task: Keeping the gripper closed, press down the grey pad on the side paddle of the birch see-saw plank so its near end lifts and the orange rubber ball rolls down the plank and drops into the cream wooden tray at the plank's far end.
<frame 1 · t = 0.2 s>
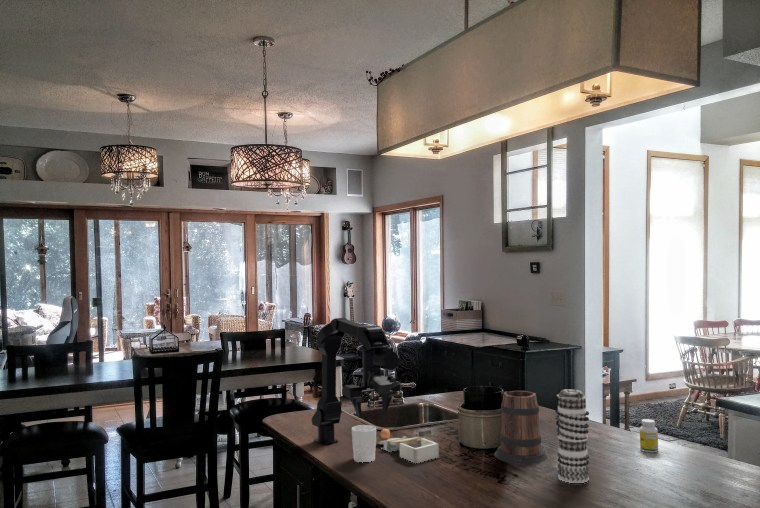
hand: (372, 415, 185), 14 cm above the worktop, tool pointing down, fingers open, 9 cm apart
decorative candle: (573, 479, 167), on the worktop
fulcrum: (395, 448, 198), on the worktop
ball: (385, 434, 203), point 3 cm above the worktop, tilted 13°, touching lever
lever: (405, 436, 201), point 3 cm above the worktop, hinge at -12.0°, touching ball
tray: (419, 457, 188), on the worktop
white cup: (364, 460, 187), on the worktop
supplement bottle: (649, 451, 192), on the worktop
tankard: (522, 453, 192), on the worktop
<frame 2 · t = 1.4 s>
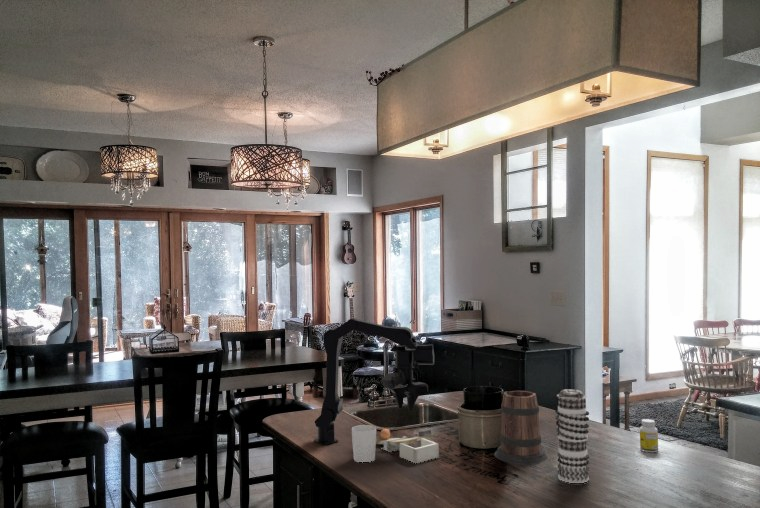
hand: (405, 409, 202), 12 cm above the worktop, tool pointing down, fingers open, 5 cm apart
nothing on the worktop moved.
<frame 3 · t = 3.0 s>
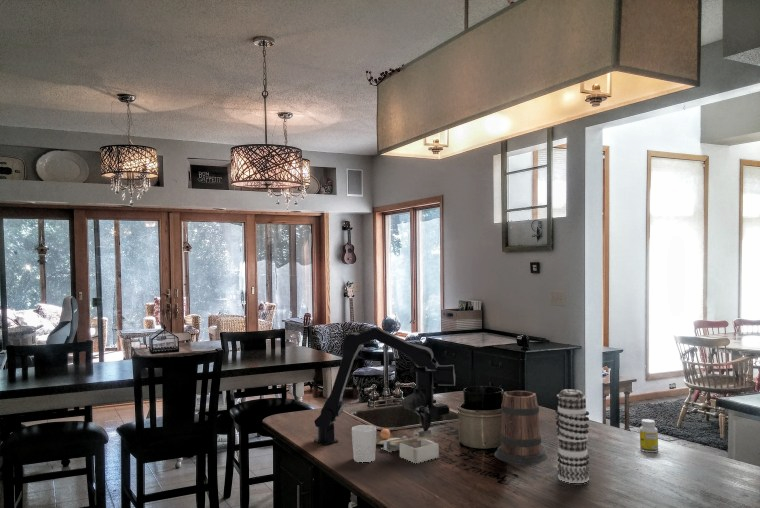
hand: (425, 431, 199), 5 cm above the worktop, tool pointing down, fingers closed, pressing on lever
ball: (385, 434, 203), point 3 cm above the worktop, tilted 11°
lever: (405, 436, 201), point 3 cm above the worktop, hinge at -11.6°, touching gripper
everything else where it was.
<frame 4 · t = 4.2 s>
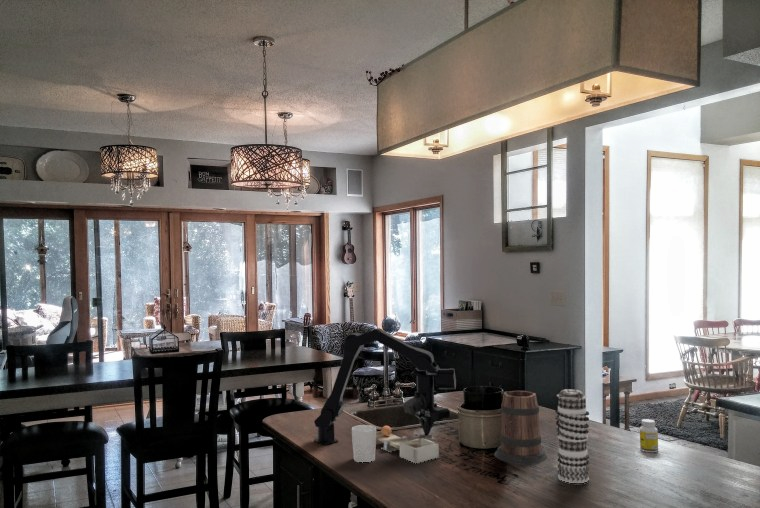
hand: (426, 435, 199), 4 cm above the worktop, tool pointing down, fingers closed, pressing on lever
ball: (386, 430, 203), point 5 cm above the worktop, tilted 15°, touching lever
lever: (406, 436, 201), point 3 cm above the worktop, hinge at 0.8°, touching ball, gripper
everything else where it was.
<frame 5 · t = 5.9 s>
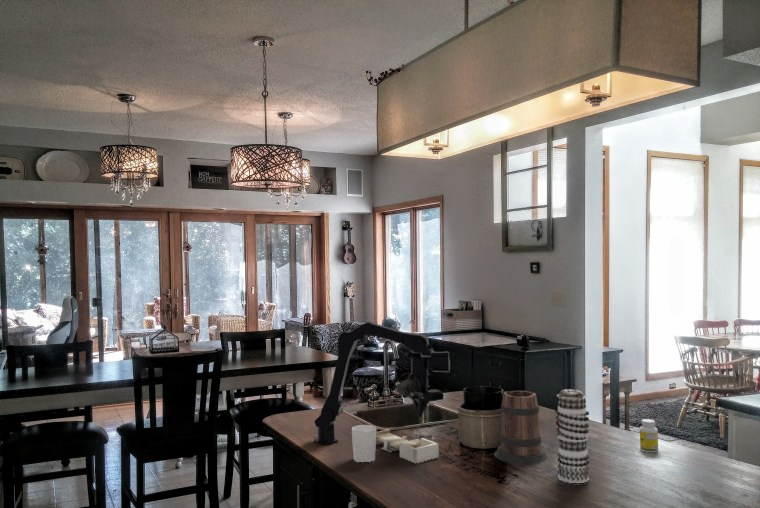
hand: (419, 416, 200), 10 cm above the worktop, tool pointing down, fingers closed
ball: (421, 451, 187), point 2 cm above the worktop, tilted 65°, touching tray
lever: (406, 436, 201), point 3 cm above the worktop, hinge at 1.1°
everything else where it was.
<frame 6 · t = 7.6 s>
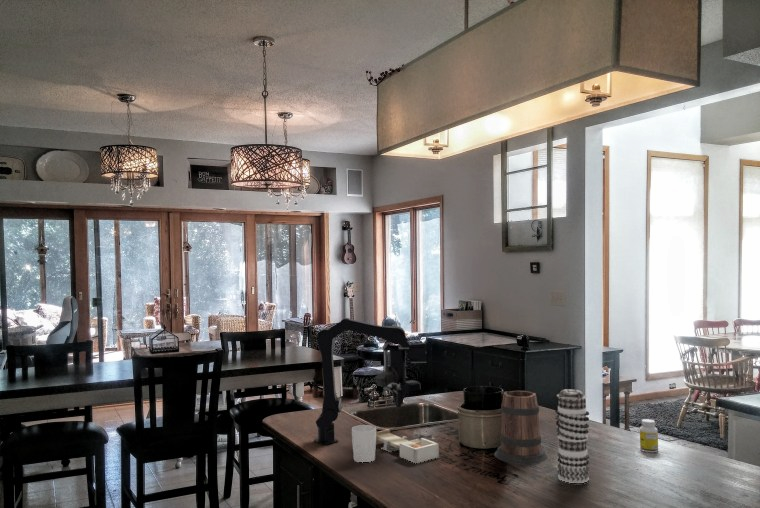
hand: (398, 407, 205), 12 cm above the worktop, tool pointing down, fingers closed
ball: (417, 450, 189), point 2 cm above the worktop, tilted 134°, touching tray
everything else where it was.
at the end: ball inside the target area on the tray (0.8 cm from its centre), point 2.1 cm above the tray's base; ball moved 17.1 cm from its start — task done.
